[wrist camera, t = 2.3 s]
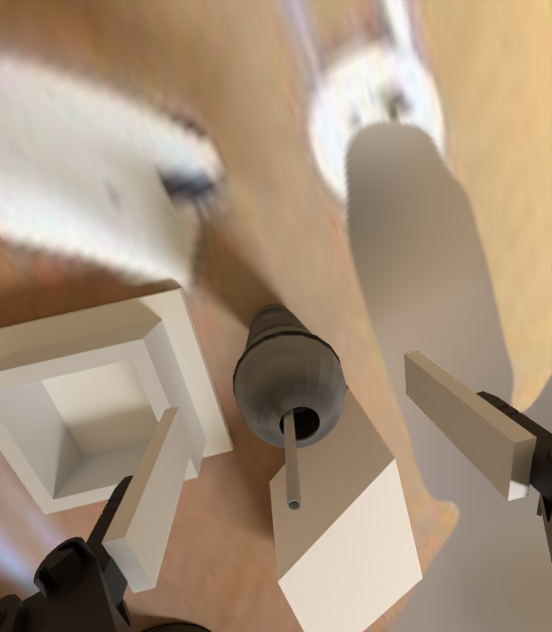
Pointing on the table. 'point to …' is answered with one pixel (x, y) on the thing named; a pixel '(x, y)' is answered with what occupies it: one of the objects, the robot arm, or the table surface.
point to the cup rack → (102, 396)
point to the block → (344, 529)
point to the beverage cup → (288, 388)
